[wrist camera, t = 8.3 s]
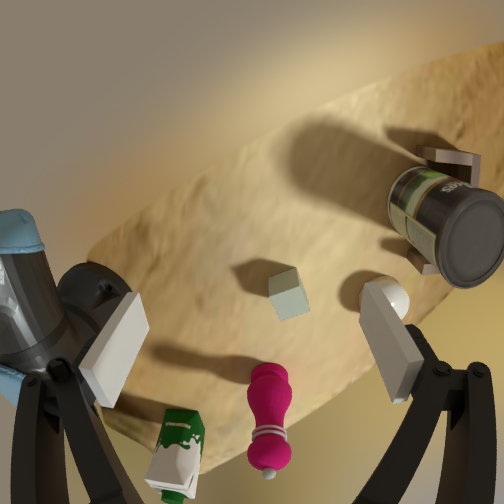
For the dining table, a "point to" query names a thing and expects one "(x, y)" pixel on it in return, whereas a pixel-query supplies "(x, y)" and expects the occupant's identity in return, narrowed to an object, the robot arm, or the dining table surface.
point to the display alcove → (461, 168)
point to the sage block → (288, 294)
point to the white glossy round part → (391, 294)
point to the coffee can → (449, 224)
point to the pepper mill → (269, 418)
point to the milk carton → (177, 456)
